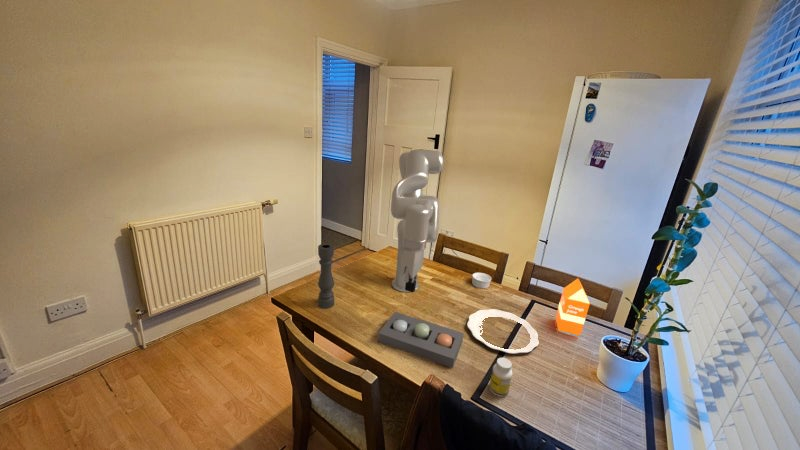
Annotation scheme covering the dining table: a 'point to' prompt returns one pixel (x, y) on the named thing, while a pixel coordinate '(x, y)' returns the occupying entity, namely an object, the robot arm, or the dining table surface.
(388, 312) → the dining table surface
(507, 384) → the supplement bottle
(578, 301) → the orange juice
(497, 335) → the dining table surface
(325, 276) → the candle holder
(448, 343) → the terracotta button
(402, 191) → the robot arm
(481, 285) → the ramekin
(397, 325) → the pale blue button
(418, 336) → the sage button
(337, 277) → the dining table surface
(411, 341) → the button panel
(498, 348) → the plate
